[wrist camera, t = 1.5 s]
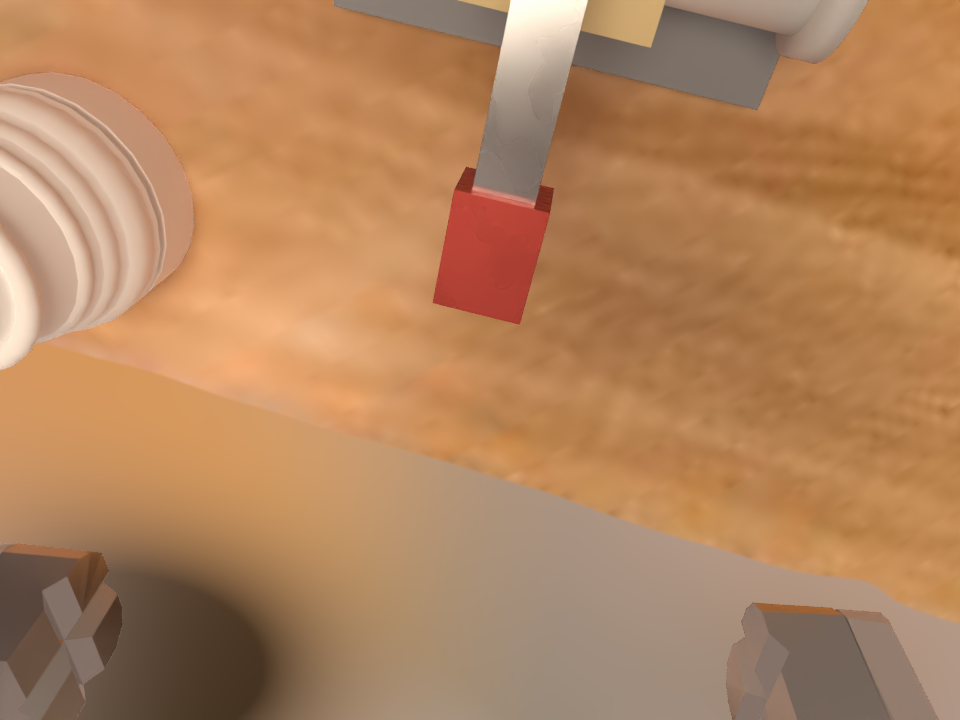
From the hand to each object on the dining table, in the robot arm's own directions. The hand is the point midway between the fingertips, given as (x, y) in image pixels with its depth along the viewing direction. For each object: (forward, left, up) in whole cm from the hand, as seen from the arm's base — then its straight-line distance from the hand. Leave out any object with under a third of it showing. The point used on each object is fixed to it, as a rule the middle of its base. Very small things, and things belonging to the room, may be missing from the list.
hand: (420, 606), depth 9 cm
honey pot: (+25, +11, -31) cm, 41 cm away
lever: (+1, -3, -17) cm, 18 cm away
